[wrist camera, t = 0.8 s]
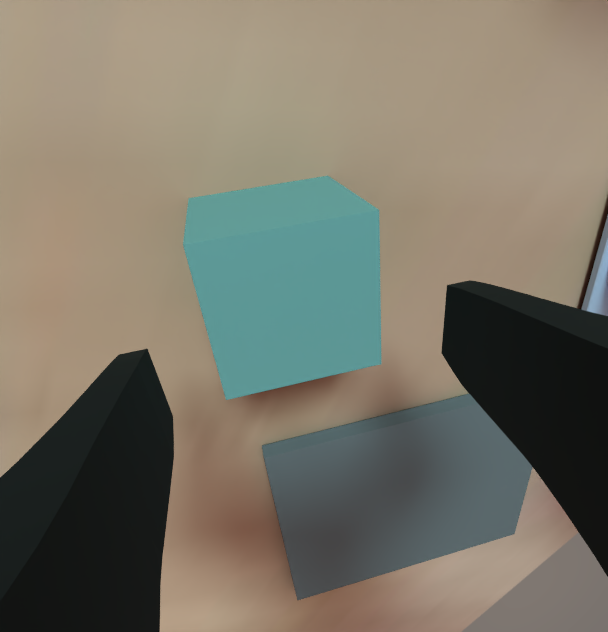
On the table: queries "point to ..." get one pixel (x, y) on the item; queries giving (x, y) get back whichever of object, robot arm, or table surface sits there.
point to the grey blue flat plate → (393, 492)
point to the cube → (286, 282)
